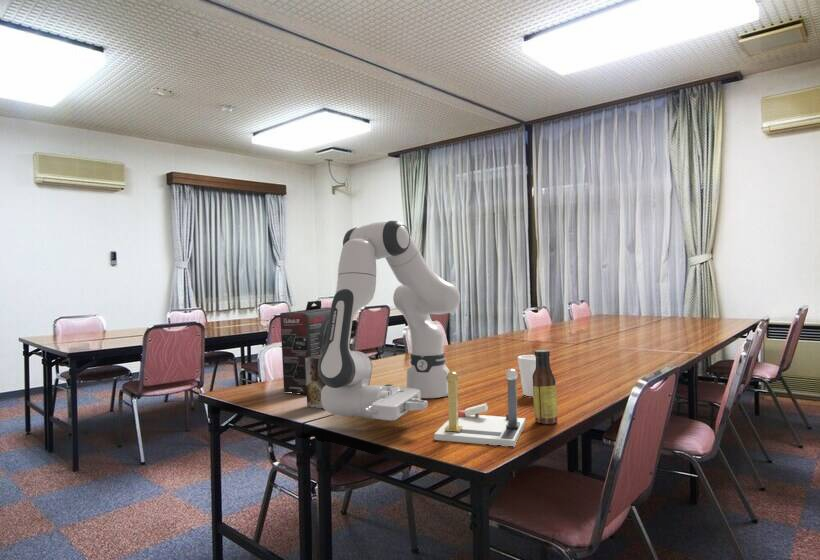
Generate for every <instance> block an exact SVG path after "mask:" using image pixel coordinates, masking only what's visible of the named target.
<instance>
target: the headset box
mask: <svg viewBox="0 0 820 560" xmlns="http://www.w3.org/2000/svg"><path fill="white" fill-rule="evenodd" d="M314 304H315V305H314ZM330 311H331V306H330V307H329V306H327V307H322V300H312V301H307V304H306V307H305V310H304V309H301V310H296V311H295V310H294V311H287V312H280V313H279V316H280V334H281V335H280V337H281V341H280V342H281V357H282V378H283V379H282V381H283V393H284V392H292V393H300V394H299V395H301V394H307V389H306V365H305V358H306V357H310V356H314V355H321V354H322V352H323V350H324V347H325V343H326V337H327V330H328V323H329V317H330Z"/></svg>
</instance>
